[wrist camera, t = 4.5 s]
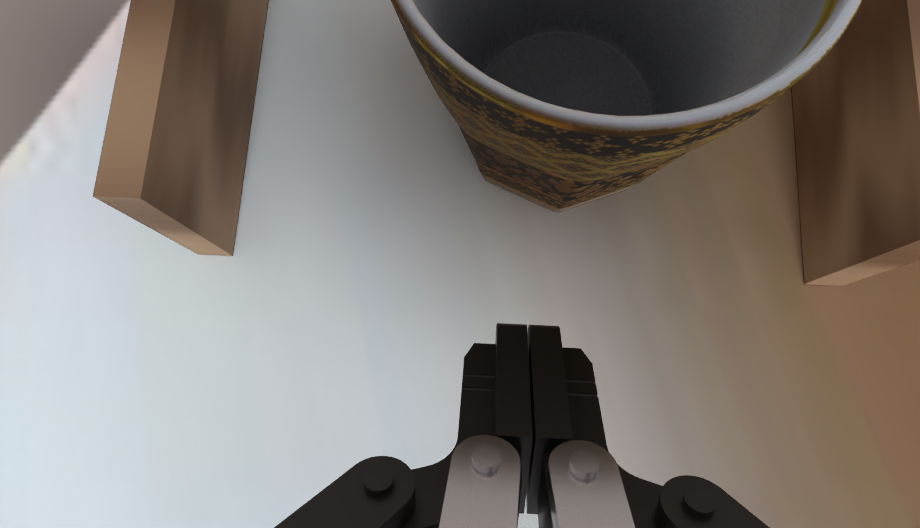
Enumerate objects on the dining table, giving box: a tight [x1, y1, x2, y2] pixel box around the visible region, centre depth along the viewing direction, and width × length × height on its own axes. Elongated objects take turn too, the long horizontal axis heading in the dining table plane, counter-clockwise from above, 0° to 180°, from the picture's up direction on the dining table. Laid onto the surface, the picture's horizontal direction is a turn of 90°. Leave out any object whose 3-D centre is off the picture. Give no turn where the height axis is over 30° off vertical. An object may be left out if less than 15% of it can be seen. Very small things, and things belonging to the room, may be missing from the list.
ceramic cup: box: [391, 0, 862, 212], centre depth 18 cm, size 13×10×10 cm
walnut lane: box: [93, 0, 920, 286], centre depth 19 cm, size 12×21×6 cm, turn 87°
